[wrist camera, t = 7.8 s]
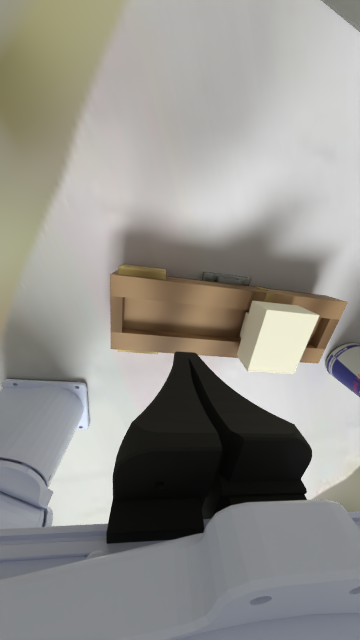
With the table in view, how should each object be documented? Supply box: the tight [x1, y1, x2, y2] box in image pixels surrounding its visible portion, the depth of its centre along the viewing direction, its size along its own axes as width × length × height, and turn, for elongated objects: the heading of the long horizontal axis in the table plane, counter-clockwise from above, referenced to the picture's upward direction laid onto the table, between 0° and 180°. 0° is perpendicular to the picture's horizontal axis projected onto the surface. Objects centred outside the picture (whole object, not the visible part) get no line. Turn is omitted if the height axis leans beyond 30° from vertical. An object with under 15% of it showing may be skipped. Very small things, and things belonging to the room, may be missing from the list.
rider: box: [237, 301, 320, 374], centre depth 17 cm, size 4×6×4 cm
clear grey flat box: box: [202, 272, 251, 286], centre depth 21 cm, size 5×8×2 cm, turn 172°
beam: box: [110, 264, 348, 363], centre depth 19 cm, size 22×8×3 cm, turn 82°
